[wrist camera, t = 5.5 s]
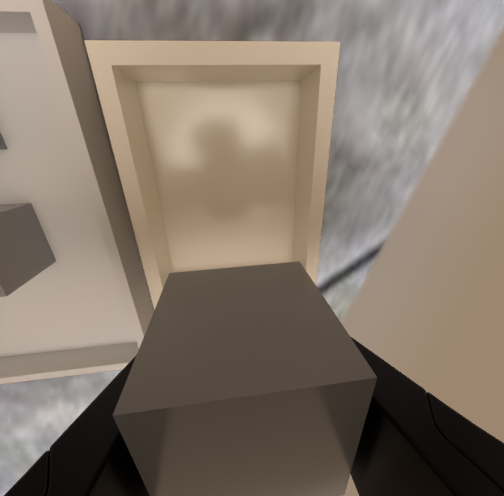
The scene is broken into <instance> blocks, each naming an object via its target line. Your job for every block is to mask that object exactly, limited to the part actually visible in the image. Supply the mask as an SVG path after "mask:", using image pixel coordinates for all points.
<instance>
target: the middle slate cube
mask: <svg viewBox="0 0 504 496" xmlns="http://www.w3.org/2000/svg"><path fill="white" fill-rule="evenodd" d="M54 262H56V259H55V257H54V254H53V252H52V250H51V248H50V245H49V243H48V241H47V238H46V236H45V234H44V231H43V229H42V227H41V224H40V222H39V220H38V218H37V215H36V213H35V211H34V208H33V206H32V204H31V203H20V204H2V205H0V297H5V296H8V295H10V294H11V293H12V292H14V291H15V290H17V289H18V288H19V287H21V286H22V285H24V284H25V283H26V282H28V281H29V280H31V279H32V278H33V277H35V276H36V275H38V274H39V273H40V272H42V271H43V270H45V269H46V268H47V267H49V266H50V265H52V264H53V263H54Z"/></svg>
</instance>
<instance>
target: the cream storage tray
mask: <svg viewBox="0 0 504 496" xmlns="http://www.w3.org/2000/svg"><path fill="white" fill-rule="evenodd" d="M84 41H85V45H86V49H87V53H88V57H89V60H90V64H91V68H92V72H93V76H94V80H95V84H96V87H97V91H98V95H99V99H100V103H101V107H102V110H103V114H104V118H105V122H106V126H107V130H108V133H109V137H110V141H111V145H112V149H113V153H114V156H115V160H116V164H117V168H118V172H119V176H120V180H121V183H122V187H123V191H124V195H125V199H126V203H127V206H128V210H129V214H130V218H131V222H132V226H133V229H134V233H135V237H136V241H137V245H138V249H139V252H140V256H141V260H142V264H143V268H144V272H145V276H146V279H147V283H148V287H149V291H150V295H151V299H152V302H153V306H154V310H155V308H156V305H157V303H158V300H159V298H160V295H161V293H162V290H163V288H164V285H165V283H166V280H167V278H168V275H169V273H175V272H186V271H197V270H208V269H220V268H231V267H242V266H253V265H265V264H276V263H287V262H298V261H300V263H301V264H302V266H303V267H304V269H305V270H306V272H307V273H308V275H309V276H310V278H311V279H312V281H313V282H314V284H315V285H316V283H317V273H318V262H319V252H320V242H321V232H322V222H323V212H324V202H325V192H326V182H327V171H328V161H329V151H330V141H331V131H332V121H333V111H334V101H335V91H336V81H337V70H338V60H339V50H340V42H277V41H115V40H84Z"/></svg>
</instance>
